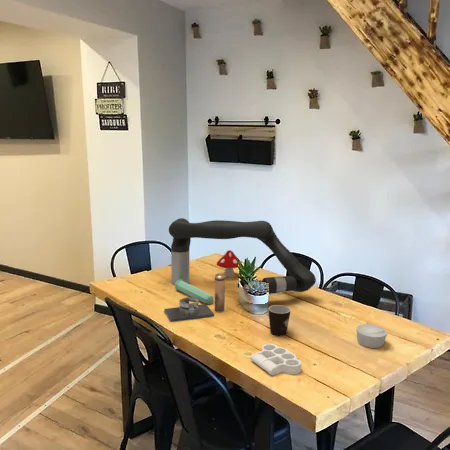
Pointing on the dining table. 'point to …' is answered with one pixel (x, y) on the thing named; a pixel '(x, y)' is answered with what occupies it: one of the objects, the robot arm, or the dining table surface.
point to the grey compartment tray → (277, 360)
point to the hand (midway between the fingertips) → (241, 288)
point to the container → (194, 292)
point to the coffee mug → (279, 319)
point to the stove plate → (181, 317)
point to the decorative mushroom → (228, 263)
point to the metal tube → (219, 292)
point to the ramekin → (371, 335)
